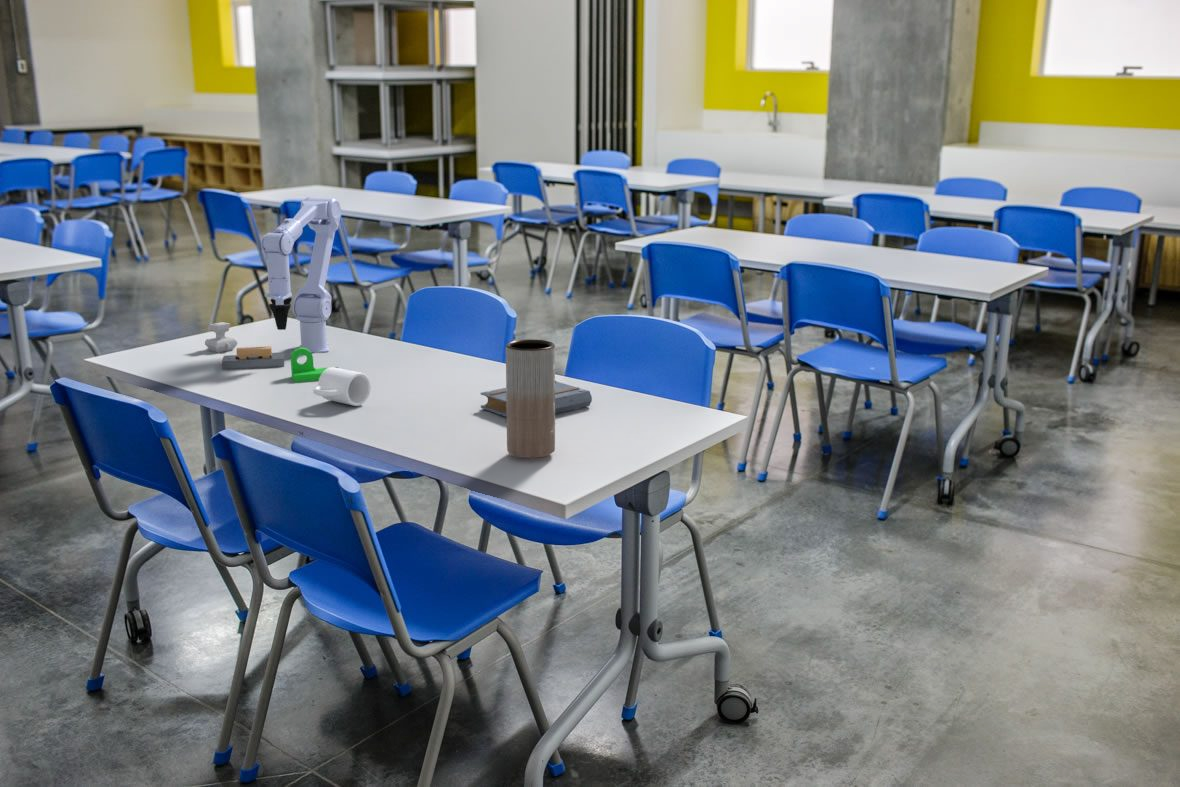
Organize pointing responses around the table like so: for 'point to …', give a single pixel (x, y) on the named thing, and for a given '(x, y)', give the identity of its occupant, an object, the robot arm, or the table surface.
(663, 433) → the table surface
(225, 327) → the stamp
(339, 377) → the mug
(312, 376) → the mechanical part
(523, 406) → the planter
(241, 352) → the tan wooden block
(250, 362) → the grey flat block
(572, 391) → the book
